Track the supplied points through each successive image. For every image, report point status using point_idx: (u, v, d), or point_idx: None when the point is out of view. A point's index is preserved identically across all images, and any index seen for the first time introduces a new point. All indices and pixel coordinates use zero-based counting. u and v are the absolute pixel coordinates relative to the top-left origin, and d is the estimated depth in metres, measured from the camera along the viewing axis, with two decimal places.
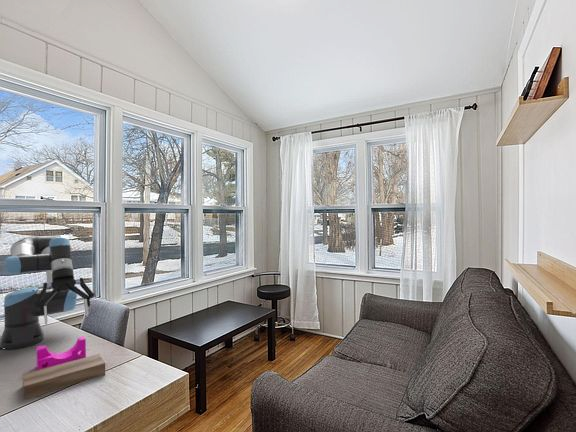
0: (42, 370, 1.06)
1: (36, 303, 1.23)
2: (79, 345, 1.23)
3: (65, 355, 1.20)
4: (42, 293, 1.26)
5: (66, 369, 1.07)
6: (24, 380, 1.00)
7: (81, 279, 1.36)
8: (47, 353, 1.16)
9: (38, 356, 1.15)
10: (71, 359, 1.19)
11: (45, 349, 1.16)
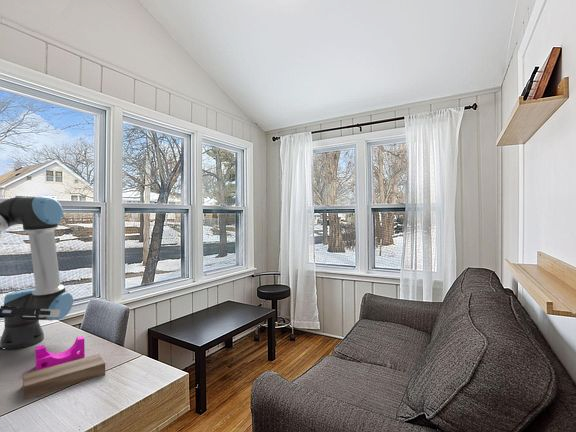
0: (42, 370, 1.06)
1: None
2: (78, 345, 1.24)
3: (64, 355, 1.20)
4: None
5: (66, 369, 1.07)
6: (24, 380, 1.00)
7: (5, 315, 1.05)
8: (46, 353, 1.17)
9: (37, 356, 1.15)
10: (70, 359, 1.20)
11: (44, 349, 1.16)
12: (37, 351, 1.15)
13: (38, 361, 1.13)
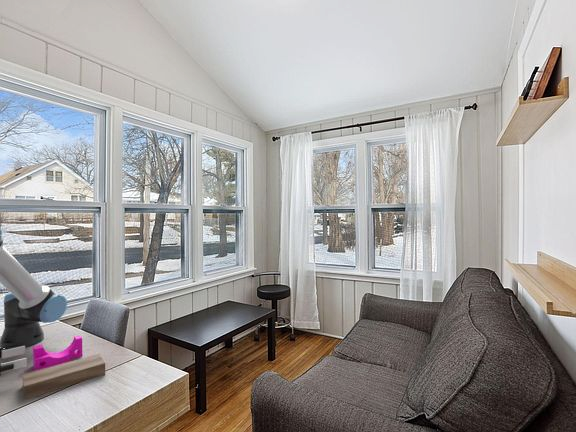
0: (42, 370, 1.06)
1: None
2: (76, 344, 1.24)
3: (62, 354, 1.21)
4: None
5: (66, 369, 1.07)
6: (24, 380, 1.00)
7: None
8: (44, 352, 1.17)
9: (35, 355, 1.15)
10: (68, 358, 1.20)
11: (42, 348, 1.17)
12: (35, 351, 1.15)
13: (36, 360, 1.14)
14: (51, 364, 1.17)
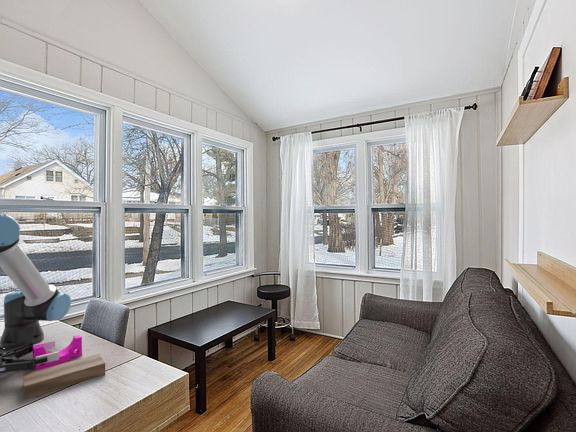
0: (42, 370, 1.06)
1: None
2: (75, 343, 1.25)
3: (62, 354, 1.21)
4: None
5: (66, 369, 1.07)
6: (24, 380, 1.00)
7: None
8: (44, 352, 1.18)
9: (35, 355, 1.16)
10: (68, 357, 1.21)
11: (42, 348, 1.17)
12: (35, 350, 1.16)
13: None
14: (51, 363, 1.17)
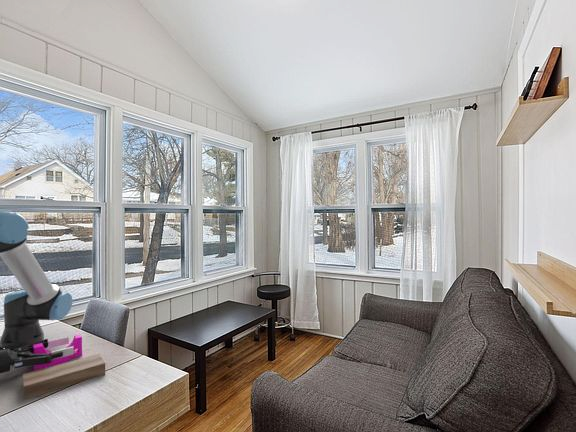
0: (42, 370, 1.06)
1: None
2: (75, 343, 1.25)
3: None
4: None
5: (66, 369, 1.07)
6: (24, 380, 1.00)
7: None
8: (44, 351, 1.18)
9: None
10: (67, 357, 1.21)
11: (42, 347, 1.17)
12: (35, 349, 1.16)
13: None
14: (50, 363, 1.17)
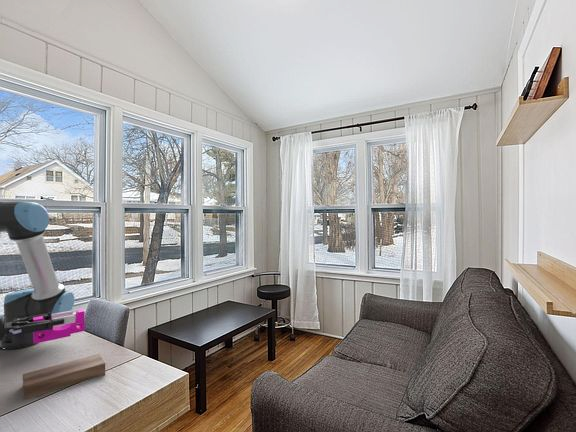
0: (42, 370, 1.06)
1: (45, 320, 1.16)
2: (78, 317, 1.17)
3: (63, 327, 1.14)
4: None
5: (66, 369, 1.07)
6: (24, 380, 1.00)
7: None
8: None
9: None
10: (69, 331, 1.13)
11: (42, 319, 1.10)
12: (34, 321, 1.09)
13: None
14: (50, 336, 1.10)
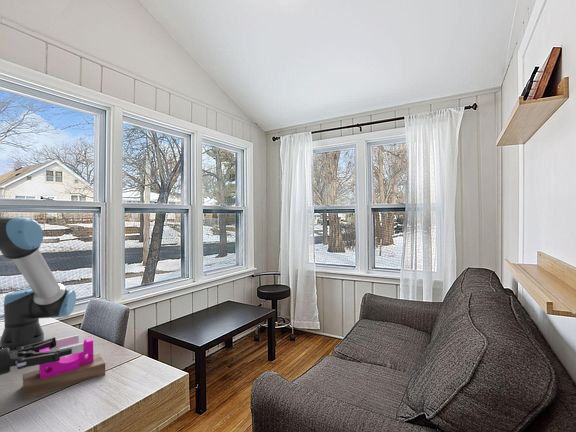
0: None
1: None
2: (86, 347, 1.11)
3: (71, 359, 1.07)
4: None
5: None
6: (24, 380, 1.00)
7: None
8: None
9: None
10: (77, 363, 1.07)
11: None
12: None
13: (42, 366, 1.01)
14: (58, 370, 1.03)
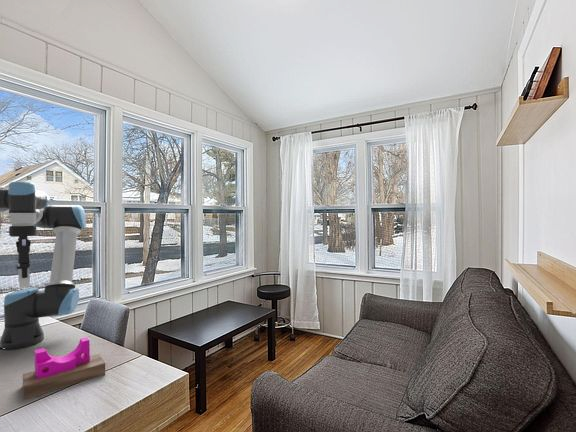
0: None
1: (18, 259, 1.19)
2: (82, 347, 1.11)
3: (68, 359, 1.08)
4: None
5: None
6: (24, 380, 1.00)
7: (19, 242, 1.07)
8: (47, 357, 1.04)
9: (37, 360, 1.02)
10: (74, 363, 1.07)
11: (45, 352, 1.04)
12: (37, 355, 1.02)
13: (39, 366, 1.01)
14: (55, 370, 1.04)
